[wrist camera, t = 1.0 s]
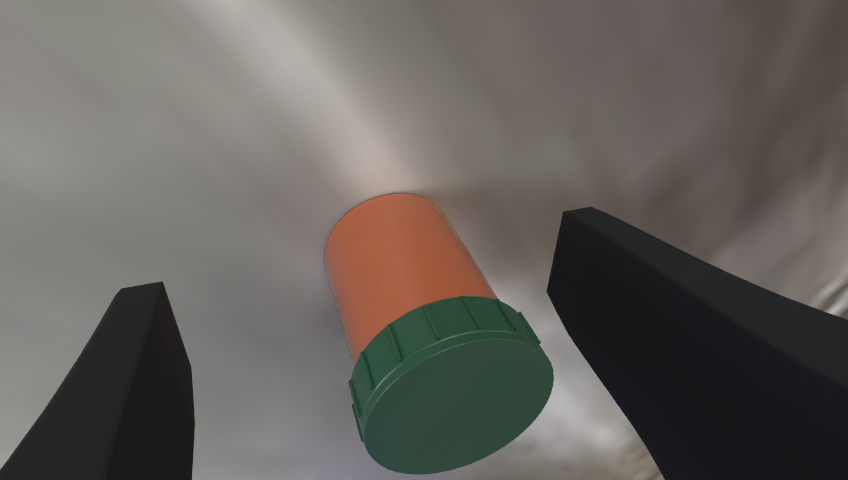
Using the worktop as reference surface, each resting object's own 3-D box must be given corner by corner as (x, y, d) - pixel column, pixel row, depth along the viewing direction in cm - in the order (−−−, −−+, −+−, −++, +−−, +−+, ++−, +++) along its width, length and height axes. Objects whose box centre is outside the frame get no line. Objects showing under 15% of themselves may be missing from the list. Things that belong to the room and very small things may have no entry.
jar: (470, 203, 22) (567, 340, 17) (424, 303, 25) (494, 453, 19) (346, 182, 20) (408, 333, 14) (308, 294, 22) (348, 462, 17)
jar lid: (558, 301, 18) (589, 342, 16) (483, 424, 20) (503, 469, 19) (385, 285, 15) (404, 333, 14) (325, 430, 18) (336, 482, 16)
